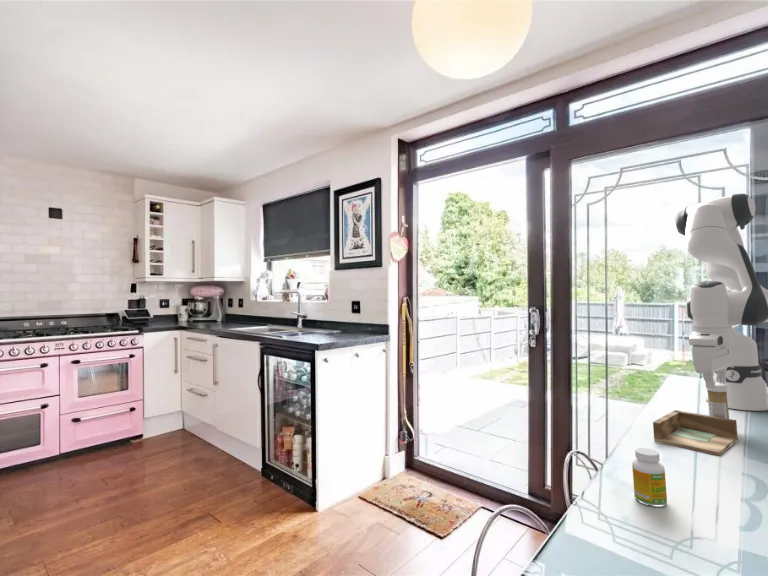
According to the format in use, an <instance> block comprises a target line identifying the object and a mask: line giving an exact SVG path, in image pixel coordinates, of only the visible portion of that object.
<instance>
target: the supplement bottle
mask: <svg viewBox="0 0 768 576" xmlns="http://www.w3.org/2000/svg"><path fill="white" fill-rule="evenodd" d="M634 451H635V459H634V460H632V463H631V464H632V465H631V467H632V478H633V479H632V481H633V493H634V494H633V495H634V498H635V497H636V499H637V500H639V501H641V502H643V503H645V504H648V505H665V504H666V505H668V504H667V503H668V499H667V497H668V495H667V494H668V493H667V484H666V471H665V469H666V468H665V466H664V465H663V464H662V463H661V462H660V459H661V458H660V453H659V451H657V450H656V449H652V448H647V447H637V448H635V450H634ZM636 499H635V500H636ZM637 500H636V501H637ZM666 505H665V506H666Z"/></svg>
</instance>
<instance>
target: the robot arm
mask: <svg viewBox="0 0 768 576" xmlns="http://www.w3.org/2000/svg"><path fill="white" fill-rule="evenodd" d="M755 213H756V204H755V202H754V201H753V199H752V198H751V197H750V196H749V195H748V194H746V193H734V194H731V195H728V196H721V197H717V198H712V199H709V200H706V201H703V202H699V203H696V204H693V205H691V206H685V207H683V208H681V209H678V211H677V212H675V214H674V219H673V223H674V227H675V229H676V230H677V232H678V233H679V234H680V235H683V236H685V244H686V249H687V251H688V253H689V254H690V256H691V257H693V258H694V259H696V260H698V261H701V262H704V263H705V269H706V275H707V277H708V279H710V280H711V281H709V280H708V281H707V280H706V281H700V282H699V281H698V282H694V283H693V284H692V285H691V288H690V289H691V290H690V297H689V298H688V300H686V304H685V313H686V315H687V318H689V319H690V320H691V321H692V323H691V324H692V325H691V329H692V332H691V335H690V336H689V338H688V344H689V346H692V347H691V356H692V362H693V368H694V370H695V373H698V374H702V377H703V379H704V382H705V387H706V389H707V388H709V389H713V388H715V383H722V384H726V385H727V402H728V409H733V410H738V411H752V412H753V411H756V412H757V411H758V412H759V411H768V383H766V381H765V380H764V379H763V376H762V375H763V373H762V372H763V371H762V367H761V365H760V363H759V355H758V354H759V352H758V344H757V342H756V341H755V340H754V339H753V338H751V337H750V336H748V335H746V334H743V333H739V332H738V331H735V330H734V327H733V325H741V326H753V327H757V326H759V325H761V324H763V323H768V289H766V288H765V287H764V286H762V285H761V284H760V281H759V279H758V276H757V274H756V271H755V269H754V265H753V263H752V262H751V259H750V256H749V255H748V252H747V249H745V245H744V241H743V239H742V236H741V233H740V230H741V231H742V230H745V227H746V226H747V225H748V224H750V223H751V222H752V221H753V219H754V217H755ZM738 227H739V229H740V230H739V229H738ZM726 287H727V288H728V289H729V290H730V291H727V288H726ZM705 401H706V402H708V396H706V397H705Z"/></svg>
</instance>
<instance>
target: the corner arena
mask: <svg viewBox="0 0 768 576" xmlns="http://www.w3.org/2000/svg"><path fill="white" fill-rule="evenodd" d="M737 424H738V423H737V420H736V419H731V418H729V419H726V418H720V417H714V416H709V414H708V415H707V414H702V413H700V414H699V413H696V412H695V413H694V412H690V411H689V412H688V411H683V410H673V411H671V412H669V413H667V414H665V415H663V416H661V417H660V418H658V419H656V420H654V421H653V422H652V425H653V427H652V428H653V440H654V441H653V442H656V443H661V444H666V445H669V446H674V447H679V448H683V449H688V450H691V451H696V452H701V453H704V454H709V453H710V455H713V454H714V456H721V455H722V454H723V453H724V452H725V451H727V448H728V447H729V446H730V445H731V444H732V443H733V444H735V443H736V442H737V441H738V440H739V439H738V437H739V436H738V427H737V426H738V425H737ZM736 440H737V441H736ZM735 441H736V442H735ZM734 442H735V443H734ZM733 444H732V445H733ZM732 445H731V446H732ZM731 446H730V447H731ZM730 447H729V448H730ZM729 448H728V449H729Z"/></svg>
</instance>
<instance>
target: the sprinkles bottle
mask: <svg viewBox="0 0 768 576" xmlns="http://www.w3.org/2000/svg"><path fill="white" fill-rule="evenodd" d="M706 390H707V397H708V401H707V403H708V405H707V406H708V416H714V417H720V418H726V419H730V411H729V410H730V409H729V408H728V402H727V385H726V384H722V383H715V388H713V389H709V388H706Z"/></svg>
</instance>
